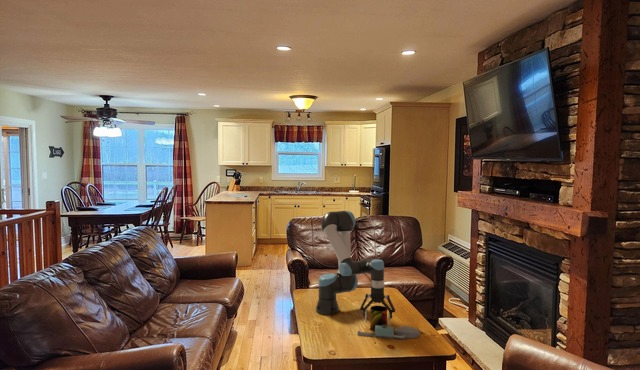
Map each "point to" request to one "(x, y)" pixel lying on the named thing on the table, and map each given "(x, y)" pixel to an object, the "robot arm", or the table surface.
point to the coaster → (407, 332)
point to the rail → (380, 336)
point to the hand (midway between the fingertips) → (377, 322)
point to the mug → (378, 316)
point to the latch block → (384, 331)
